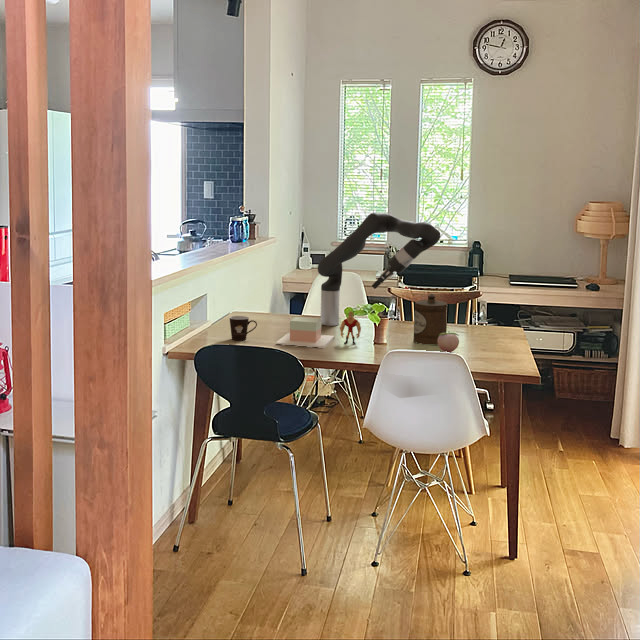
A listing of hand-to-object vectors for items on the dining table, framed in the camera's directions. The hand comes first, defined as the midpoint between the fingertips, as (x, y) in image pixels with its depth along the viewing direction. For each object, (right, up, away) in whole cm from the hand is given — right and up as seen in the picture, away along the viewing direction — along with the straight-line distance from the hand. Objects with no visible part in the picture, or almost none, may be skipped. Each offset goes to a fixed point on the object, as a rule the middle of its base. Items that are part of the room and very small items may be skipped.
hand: (374, 285), depth 354 cm
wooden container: (+26, -25, +16) cm, 40 cm away
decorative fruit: (+31, -30, -6) cm, 43 cm away
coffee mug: (-59, -24, +11) cm, 65 cm away
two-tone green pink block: (-31, -25, +11) cm, 41 cm away
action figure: (-11, -26, +8) cm, 29 cm away
